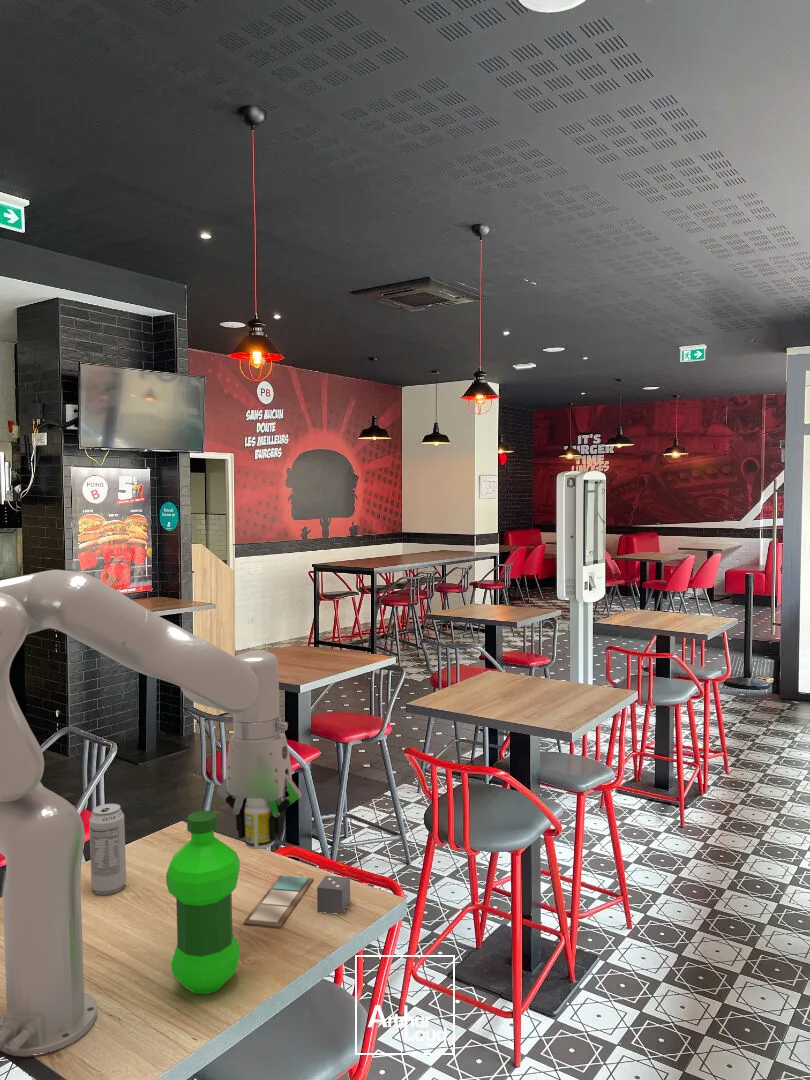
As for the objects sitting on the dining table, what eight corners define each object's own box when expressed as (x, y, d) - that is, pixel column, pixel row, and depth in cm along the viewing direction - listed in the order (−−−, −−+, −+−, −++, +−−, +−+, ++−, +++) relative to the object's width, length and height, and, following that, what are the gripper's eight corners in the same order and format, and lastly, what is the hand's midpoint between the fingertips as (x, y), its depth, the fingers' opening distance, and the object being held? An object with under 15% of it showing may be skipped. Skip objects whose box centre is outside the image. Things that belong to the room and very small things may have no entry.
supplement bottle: (277, 838, 134) (276, 789, 134) (270, 850, 129) (269, 799, 129) (250, 837, 135) (249, 788, 134) (241, 849, 130) (240, 798, 129)
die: (342, 915, 136) (341, 889, 136) (317, 913, 137) (317, 886, 137) (350, 902, 140) (349, 877, 140) (326, 900, 141) (325, 874, 141)
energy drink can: (132, 881, 150) (129, 802, 149) (117, 897, 144) (114, 815, 143) (101, 880, 150) (98, 802, 150) (85, 895, 144) (82, 814, 144)
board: (280, 928, 132) (280, 924, 132) (243, 924, 133) (243, 920, 133) (313, 880, 149) (313, 876, 149) (280, 877, 150) (280, 873, 150)
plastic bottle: (219, 955, 124) (215, 797, 123) (255, 984, 117) (251, 816, 115) (158, 981, 118) (153, 815, 116) (192, 1014, 110) (187, 836, 109)
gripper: (313, 723, 133) (316, 831, 134) (219, 719, 137) (222, 824, 137) (297, 736, 126) (300, 850, 126) (198, 732, 129) (202, 842, 130)
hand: (259, 835), depth 132 cm, fingers closed on supplement bottle, 4 cm apart
